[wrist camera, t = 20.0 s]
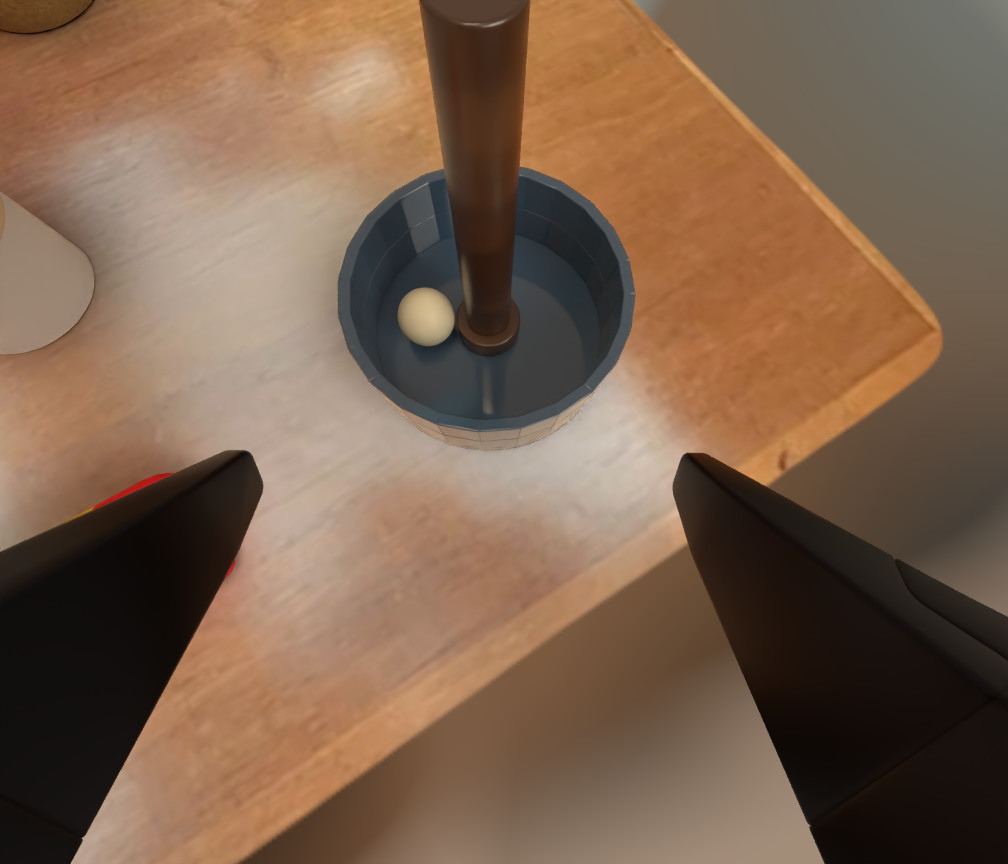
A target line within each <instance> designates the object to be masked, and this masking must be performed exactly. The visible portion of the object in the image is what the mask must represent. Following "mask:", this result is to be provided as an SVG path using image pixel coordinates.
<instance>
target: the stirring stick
mask: <svg viewBox="0 0 1008 864" xmlns="http://www.w3.org/2000/svg"><path fill="white" fill-rule="evenodd" d="M419 5H420V11H421V18H422V25H423V31H424V38H425V45H426V51H427V58H428V64H429V71H430V78H431V84H432V91H433V98H434V104H435V111H436V117H437V124H438V131H439V137H440V144H441V151H442V157H443V164H444V170H445V177H446V184H447V190H448V197H449V203H450V210H451V217H452V223H453V230H454V237H455V243H456V250H457V256H458V263H459V270H460V276H461V283H462V290H463V296H464V300H463V301H462V302H461V304H460V306H459V308H458V310H457V315H456V321H457V327H458V332H459V336H460V338H461V341H462V342H463V344H464V345H465V346H466V347H467V348H468V349H469V350H470V351H472V352H474V353H476V354H478V355H482V356H496V355H499V354H502V353H504V352H506V351H507V350H509V349H510V348H511V347H512V346H513V344H514V343H515V341H516V339H517V337H518V334H519V326H520V312H519V309H518V307H517V305H516V303H515V302H514V300H513V299H512V298H511V290H512V274H513V259H514V243H515V228H516V213H517V197H518V182H519V167H520V151H521V136H522V121H523V105H524V90H525V75H526V59H527V44H528V28H529V13H530V0H419Z"/></svg>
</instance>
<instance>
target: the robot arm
mask: <svg viewBox="0 0 1008 864" xmlns="http://www.w3.org/2000/svg"><path fill="white" fill-rule="evenodd" d="M262 492H263V481H262V478H261V475H260V473H259V470H258V468H257V466H256V463H255V461H254V458H253V456H252V454H251V453H250V452H248V451H245V450H227V451H223V452H221V453H219V454H217V455H214V456H212V457H210V458H208V459H206V460H203V461H201V462H199V463H197V464H194V465H192V466H190V467H188V468H186V469H183V470H181V471H179V472H177V473H174V474H172V475H170V476H168V477H166V478H163V479H161V480H159V481H157V482H154V483H152V484H150V485H148V486H145V487H143V488H141V489H139V490H137V491H134V492H132V493H130V494H128V495H125V496H123V497H121V498H119V499H117V500H114V501H112V502H110V503H108V504H105V505H103V506H101V507H99V508H97V509H94V510H92V511H90V512H88V513H85V514H83V515H81V516H79V517H76V518H74V519H72V520H70V521H68V522H65V523H63V524H61V525H59V526H56V527H54V528H52V529H50V530H48V531H45V532H43V533H41V534H39V535H36V536H34V537H32V538H30V539H28V540H25V541H23V542H21V543H19V544H16V545H14V546H12V547H10V548H7V549H5V550H3V551H1V552H0V864H70V863H71V862H72V860H73V858H74V856H75V854H76V852H77V851H78V849H79V847H80V845H81V843H82V841H83V839H82V837H84V836H85V835H86V833H87V831H88V830H89V828H90V826H91V824H92V822H93V820H94V818H95V817H96V815H97V813H98V811H99V809H100V807H101V806H102V804H103V802H104V800H105V798H106V796H107V794H108V793H109V791H110V789H111V787H112V785H113V783H114V782H115V780H116V778H117V776H118V774H119V772H120V770H121V769H122V767H123V765H124V763H125V761H126V759H127V758H128V756H129V754H130V752H131V750H132V748H133V746H134V745H135V743H136V741H137V739H138V737H139V735H140V734H141V732H142V730H143V728H144V726H145V724H146V722H147V721H148V719H149V717H150V715H151V713H152V711H153V710H154V708H155V706H156V704H157V702H158V700H159V698H160V697H161V695H162V693H163V691H164V689H165V687H166V686H167V684H168V682H169V680H170V678H171V676H172V675H173V673H174V671H175V669H176V667H177V665H178V663H179V662H180V660H181V658H182V656H183V654H184V652H185V651H186V649H187V647H188V645H189V643H190V641H191V639H192V638H193V636H194V634H195V632H196V630H197V628H198V627H199V625H200V623H201V621H202V619H203V617H204V615H205V614H206V612H207V610H208V608H209V606H210V604H211V603H212V601H213V599H214V597H215V595H216V593H217V591H218V590H219V588H220V586H221V584H222V582H223V580H224V579H225V577H226V575H227V573H228V571H229V569H230V567H231V565H232V563H233V561H234V560H235V558H236V555H237V553H238V551H239V549H240V546H241V544H242V542H243V539H244V537H245V534H246V532H247V529H248V527H249V524H250V522H251V520H252V517H253V515H254V512H255V510H256V507H257V505H258V502H259V500H260V498H261V495H262ZM673 495H674V498H675V502H676V505H677V508H678V512H679V515H680V518H681V521H682V525H683V528H684V531H685V535H686V538H687V541H688V545H689V548H690V551H691V553H692V556H693V559H694V562H695V564H696V566H697V569H698V571H699V574H700V576H701V578H702V580H703V583H704V585H705V587H706V590H707V592H708V594H709V596H710V599H711V601H712V603H713V606H714V608H715V610H716V613H717V615H718V617H719V620H720V622H721V624H722V627H723V629H724V631H725V634H726V636H727V638H728V641H729V643H730V645H731V648H732V649H733V652H734V654H735V657H736V659H737V661H738V664H739V666H740V668H741V671H742V673H743V675H744V678H745V680H746V682H747V685H748V687H749V689H750V691H751V694H752V696H753V698H754V701H755V703H756V705H757V707H758V710H759V712H760V714H761V717H762V719H763V721H764V723H765V726H766V728H767V731H768V733H769V735H770V738H771V740H772V742H773V745H774V747H775V749H776V752H777V754H778V756H779V758H780V761H781V763H782V765H783V768H784V770H785V772H786V774H787V777H788V779H789V782H790V784H791V786H792V788H793V791H794V793H795V795H796V798H797V800H798V802H799V805H800V807H801V809H802V812H803V814H804V816H805V819H806V821H807V823H808V824H809V825H811V826H810V827H809V828H810V831H811V833H812V836H813V838H814V840H815V843H816V845H817V847H818V849H819V852H820V854H821V857H822V859H823V861H824V863H825V864H1008V617H1007V616H1005V615H1003V614H1001V613H999V612H997V611H995V610H993V609H991V608H989V607H987V606H985V605H983V604H981V603H979V602H977V601H975V600H973V599H971V598H969V597H968V596H966V595H964V594H962V593H960V592H958V591H956V590H954V589H953V588H951V587H949V586H947V585H945V584H943V583H941V582H939V581H938V580H936V579H934V578H932V577H930V576H928V575H926V574H925V573H923V572H921V571H919V570H917V569H915V568H914V567H912V566H910V565H908V564H906V563H905V562H903V561H901V560H899V559H894V558H893V557H892V556H891V555H890V554H888V553H886V552H884V551H882V550H881V549H879V548H877V547H875V546H873V545H872V544H870V543H868V542H866V541H864V540H862V539H861V538H859V537H857V536H855V535H853V534H851V533H850V532H848V531H846V530H844V529H842V528H840V527H839V526H837V525H835V524H833V523H831V522H830V521H828V520H826V519H824V518H822V517H820V516H819V515H817V514H815V513H813V512H811V511H809V510H808V509H806V508H804V507H802V506H800V505H799V504H797V503H795V502H793V501H791V500H789V499H788V498H786V497H784V496H782V495H780V494H779V493H776V492H775V491H773V490H771V489H769V488H768V487H766V486H764V485H762V484H760V483H758V482H757V481H755V480H753V479H751V478H749V477H748V476H746V475H744V474H742V473H740V472H738V471H737V470H735V469H733V468H731V467H729V466H727V465H726V464H724V463H722V462H720V461H718V460H717V459H715V458H713V457H711V456H709V455H707V454H705V453H686V454H684V455H683V456H682V458H681V460H680V463H679V466H678V469H677V472H676V475H675V478H674V481H673Z"/></svg>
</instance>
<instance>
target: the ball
mask: <svg viewBox="0 0 1008 864" xmlns="http://www.w3.org/2000/svg"><path fill="white" fill-rule="evenodd" d="M397 316H398V323H399V326H400V328H401V330H402V332H403V334H404V335H405V336H406V337H407V338H408V339H409V340H411V341H412V342H414V343H416V344H418V345H422V346H434V345H437V344H439V343H441V342H443V341H444V340H445V339H447V337H448V336H449V335H450V334H451V332H452V330H453V327H454V323H455V314H454V310H453V307H452V305H451V303H450V301H449V300H448V299H447V297H446V296H445V295H443V294H442V293H441V292H439V291H437V290H435V289H432V288H418V289H414V290H412V291H411V292H409V293H408V294H407V295H405V297H404V298H403V299H402V301H401V302H400V305H399V308H398V315H397Z"/></svg>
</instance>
